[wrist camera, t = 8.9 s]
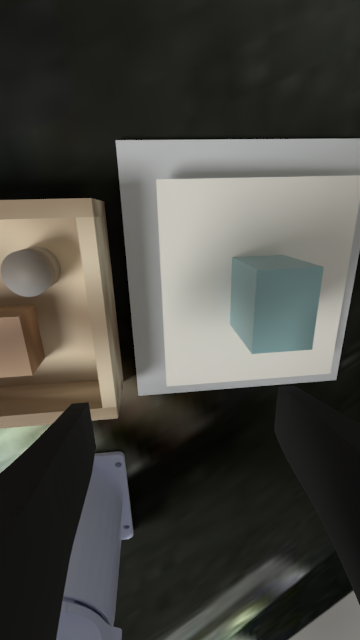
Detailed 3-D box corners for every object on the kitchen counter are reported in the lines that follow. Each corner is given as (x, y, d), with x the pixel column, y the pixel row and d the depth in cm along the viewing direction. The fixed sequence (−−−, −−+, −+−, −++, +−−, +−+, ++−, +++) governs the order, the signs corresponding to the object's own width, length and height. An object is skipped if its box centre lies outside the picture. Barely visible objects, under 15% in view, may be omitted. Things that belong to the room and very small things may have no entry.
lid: (314, 359, 21) (373, 411, 16) (165, 370, 20) (171, 429, 15) (340, 179, 17) (432, 162, 12) (155, 183, 16) (158, 167, 11)
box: (123, 381, 21) (117, 418, 17) (-39, 394, 20) (-82, 435, 16) (104, 201, 17) (91, 197, 13) (-101, 206, 16) (-178, 204, 12)
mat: (332, 377, 23) (336, 379, 22) (138, 392, 21) (138, 395, 21) (374, 139, 17) (379, 138, 17) (116, 141, 16) (115, 140, 15)
